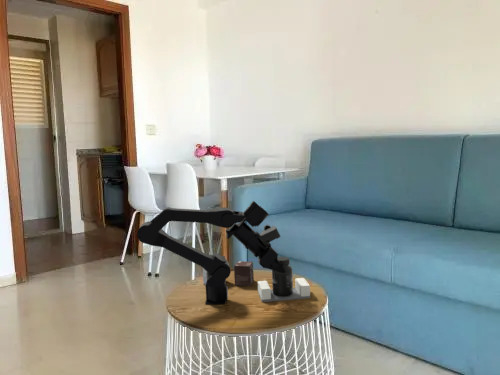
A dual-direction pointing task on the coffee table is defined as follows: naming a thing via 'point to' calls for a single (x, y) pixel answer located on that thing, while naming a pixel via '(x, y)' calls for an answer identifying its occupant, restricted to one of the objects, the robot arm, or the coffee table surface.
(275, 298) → the rail plate
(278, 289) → the supplement bottle
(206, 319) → the coffee table surface
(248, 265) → the box
